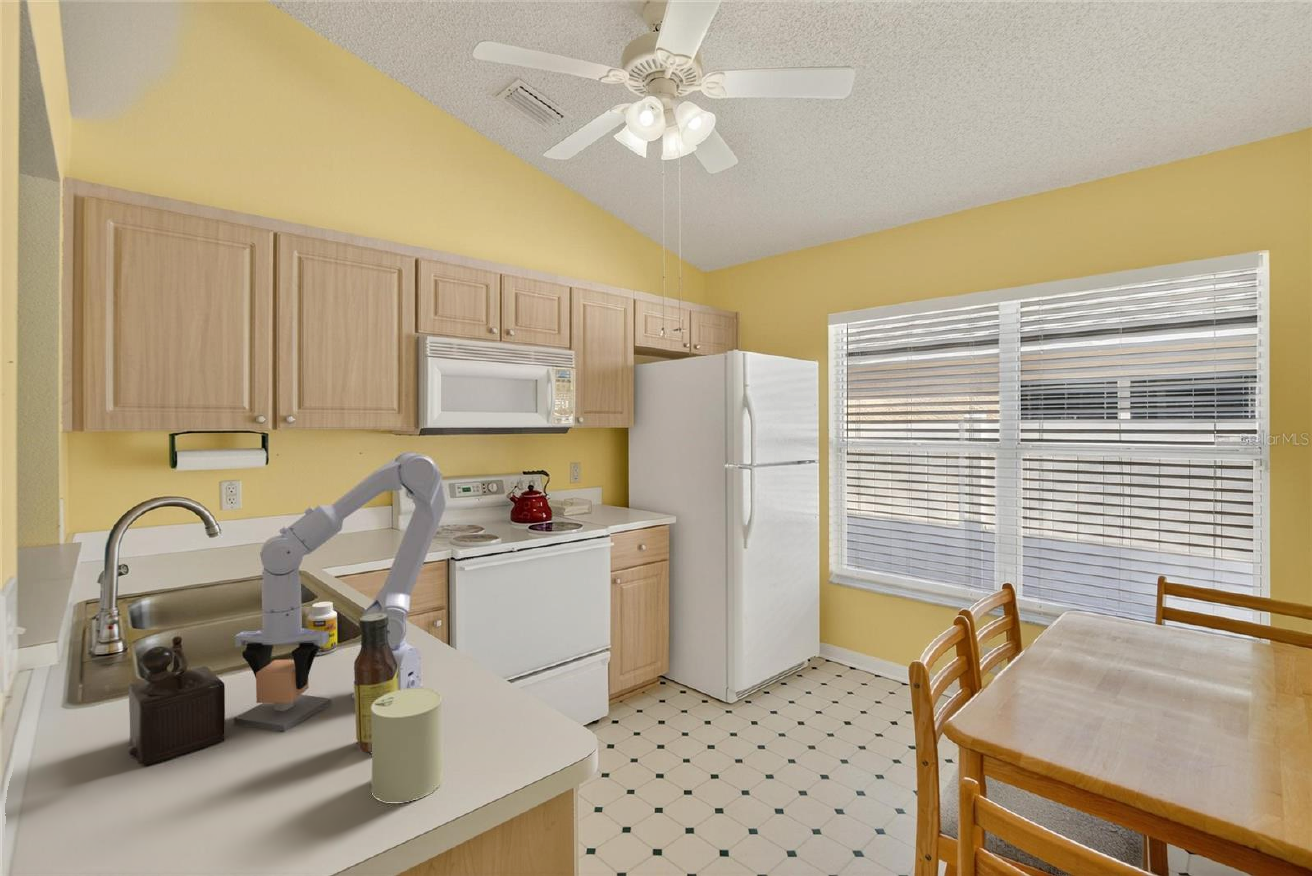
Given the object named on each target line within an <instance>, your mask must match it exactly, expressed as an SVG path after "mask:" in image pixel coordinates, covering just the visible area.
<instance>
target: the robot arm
mask: <svg viewBox="0 0 1312 876" xmlns="http://www.w3.org/2000/svg"><path fill="white" fill-rule="evenodd" d="M442 475H443V474H442V472H441V470H440V468H439V467H438V465H437V464H436V462H435V461H434V460H433V459H432V458H431V457H430V456H428V455H425V454H422V453H421V454H419V453H416V452H414V451H406V452H403V453H401V454H399V455H398V456H397V457H395V459H392V460H390V461H387V462H386V463H384V464H383V465H381V466H380V467H379V468H377V469H376V470H374V471H373V472H371V473H370V474H369V475H368V476H366V478H364V479H363V480H362V481H360V482H359V483H358V484H356V485H354V487H353V488H351V489H350V490H349V491H347V492H345V494H344V495H342V496H341V497H339V498H338V499H337V500H336V501H335V502H334V503H332V504H330V505H325V504H319V505H317V506H316V507H314V508H313V507H312V506H309V507H308V508H306V509H305V510H304V515H303V516H301V517H300V518H299V519H298V520H296V521H295V522H294V523H292V524H291V525H289V526H288V527H287V528H286V527H285V526H283V527H282V528H280V529H279V530H278V531H279V533H280V534H278V535H274V536H272V537H270V538H269V539H267V540H266V541H265V543H263V545H262V547H261V550H260V552H259V556H260V560H261V563H262V566H263V570H262V572H261V576H262V582H261V611H262V612H261V615H262V617H261V618H262V619H261V621H262V622H261V623H262V626H261V627H262V629H261V630H252V631H251V630H250V631H249V630H247V631H241V632H239V633H237V634H236V635H235V636H234V642H235V643H234V644H235V647H236V648H237V647H238V648H241V647H243V646H246V648H245V650H243V651H242V655H241V656H242V658H244V659H245V661H246V663H247V664H248V665H249V667H250V668H251V671H252V673H253V674H254V678H255V679H256V673H257V672H258V671H260V670H261V669H263V668H264V667H266V666H267V665H269V664H270V663H271V662H272V655H273V649H274V646H298V647H296V648H295V649H293V650H292V651H291V655H292V658H293V659H292V660H294V664H295V670H296V687H297V689H302V688H303V687H304V686H306V685H307V681H308V682H309V675H310V671H311V668H312V665H313V662H314V660H315V658H316V656H317V655H316V654H317V652H318V650H319V648H320V646H324V645H326V644H327V643H328V642H329V631H317V630H310V629H308V628H303V626H302V625H303V624H302V618H303V617H302V579H301V577H300V565H301V564H302V562H303V558H304V556H306V555H310V554H311V553H313V552H315V551H316V550H317V549H319V548H320V547H321V546H322V545H323V544H325V543H326V542H327V541H329V540H330V539H331V538H333V537H334V536H335V535H337V534H338V533H340V532H341V531H342V529H343V524H344V523H343V522H344V520H345V519H346V518H348V517H349V516H350V515H352V514H353V513H355V512H356V511H358V510H359V509H361V508H362V507H364V506H365V505H366V504H368V503H369V502H371V501H372V500H373V499H375V498H376V497H378V496H379V495H380V494H383V493H385V492H394V491H395V492H396V491H402V490H403V488H405V490H406V491H407V493H408V495H409V496H410V499H411V500H412V502H413V504H414V507H415V508H414V510H413V512H412V515H411V517H410V520H409V522H408V524H407V527H406V530H405V532H404V535H403V537H402V540H401V542H400V545H399V547H398V550H397V551H396V555H395V556H394V559H393V561H392V564H391V566H390V569H389V572H388V574H387V577H386V579H385V581H384V585H383V586H382V588H381V589H380V590H379V591H378V592H377V594H376V596H375V598H374V600H373V602H371V604H370V605H369V606H368V607H367V608H366V609H365V610H364V612H363V614H362V616H361V617H363V616H365V615H369V614H376V613H384V614H387V616H388V625H387V633H388V643H389V645H390V648H391V650H392V653H393V655H394V657H395V660H396V662H397V665H398V684H399V690H402V689H409V688H424V687H423V686H424V683H422V681H421V680H422V679H421V676H422V675H421V654H420V653H421V652H420V651H419V649H418V648H417V647H415V646H413V645H410V644H409V643H407V641H406V637H405V636H406V635H407V631H408V630H407V628H408V627H407V618H408V615H409V612H410V603H411V602H410V600H411V595H412V592H413V590H414V587H415V585H416V582H417V580H418V577H419V575H420V573H421V571H422V568H423V565H424V562H425V560H426V558H427V555H428V552H429V550H430V547H431V545H432V542H433V539H434V537H435V535H436V533H437V530H438V528H439V525H440V521H441V519H442V516H443V515H444V512H445V509H446V503H447V502H446V498H445V492H444V486H443V481H442ZM351 698H352V699H353V700H355V694H354V693H353V694H352V695H351Z"/></svg>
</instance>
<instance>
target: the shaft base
mask: <svg viewBox="0 0 1312 876" xmlns="http://www.w3.org/2000/svg"><path fill="white" fill-rule="evenodd" d="M331 699H332V698H328V697H320V696H314V695H309V694H308V695H306V694H301V695H300V696H298V697H297V698H296V699H295V700H294V701H293V702H291V703H259V704H258V705H256V706H254V707H252V708H250V709H249V710H247V711H246V710H245V711H244V712H243V713H241V714H238V715H237V716H235V717H234V718H233V725H238V726H239V725H240V726H246V727H252V728H258V729H259V728H260V729H265V730H272V731H277V732H278V731H279V732H286V731H288V730H290V729H291V728H293V727H295V726H297V725H298V724H300V723H301V722H303V721H305V720H306V719H308V718H310V717H312V716H314V715H315V714H316V713H319V712H320V711H322V710H323V709H325V708H327V707H329V706H330V705H331V703H332V702H331V701H332V700H331Z"/></svg>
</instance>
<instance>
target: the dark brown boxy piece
mask: <svg viewBox="0 0 1312 876" xmlns="http://www.w3.org/2000/svg"><path fill="white" fill-rule="evenodd" d="M171 642H172V646H171V647H169V646H161V645H160V646H153V647H152V648H149V649H147V650H145V651H144V652H143V653H142V655H141V658H140V659H139V665H140V667H142V668H143V669H144V670H145V672H146V675H145V677H144V680H141V681H137V682H133V683H130V684H129V687H128V706H129V709H128V710H129V742H128V744H129V747H128V752H129V755H131V756H132V757H133V758H134V759H136V760H137V762H138V763H139V764H141V765H142V766H144V767H147V766H152V765H155V764H160V763H164V762H168V761H172V760H173V759H177V758H180V757H183V756H187V755H189V754H192V753H193V754H194V753H195V752H198V751H202V750H206V749H208V748H211V747H213V746H216V745H218V744H220V743H223V742H225V740H226V738H225V727H226V726H225V725H226V723H225V722H226V707H225V706H226V700H225V699H226V696H225V695H226V690H225V689H226V688H225V683H224V681H222V680H221V679H220V678H219V677H218V676H217V675H216V674H215V673H214V672H213V671H212V670H211V669H210V668H209V667H208V666H206V665H205V666H200V667H196V668H195V667H194V668H192V669H191V668H188V667H189V663H188V660H187V657H186V655H185V652H184V651H183V650H184V648H183V644H182V642H183V638H182V637H181V636H174V637H173V638H172V639H171ZM171 663H172V669H168V667H169V666H170V665H171Z"/></svg>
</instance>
